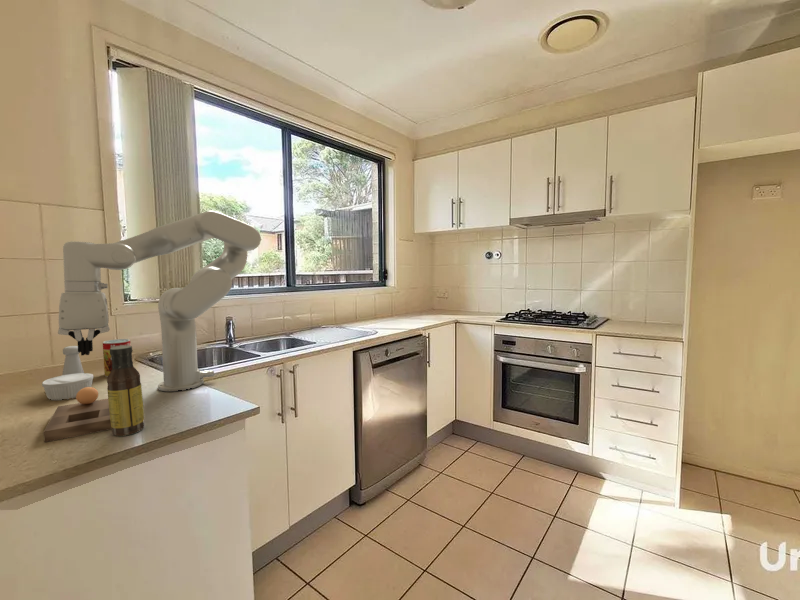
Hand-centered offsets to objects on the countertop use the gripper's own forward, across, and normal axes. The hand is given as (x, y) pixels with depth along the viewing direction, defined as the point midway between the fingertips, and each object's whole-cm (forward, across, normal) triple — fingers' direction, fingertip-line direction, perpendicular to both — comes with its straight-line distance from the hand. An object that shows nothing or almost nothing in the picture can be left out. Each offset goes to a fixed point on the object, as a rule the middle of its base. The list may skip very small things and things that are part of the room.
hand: (85, 354), depth 100 cm
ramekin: (+14, +5, -13) cm, 20 cm away
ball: (+10, -1, +8) cm, 12 cm away
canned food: (+14, -6, -33) cm, 37 cm away
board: (+14, -2, +15) cm, 21 cm away
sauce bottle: (+14, -9, +28) cm, 32 cm away
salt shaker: (+14, +5, -23) cm, 28 cm away
